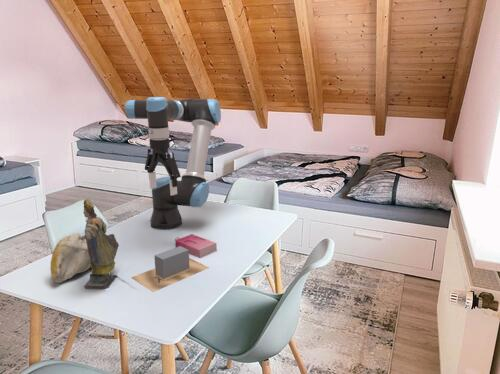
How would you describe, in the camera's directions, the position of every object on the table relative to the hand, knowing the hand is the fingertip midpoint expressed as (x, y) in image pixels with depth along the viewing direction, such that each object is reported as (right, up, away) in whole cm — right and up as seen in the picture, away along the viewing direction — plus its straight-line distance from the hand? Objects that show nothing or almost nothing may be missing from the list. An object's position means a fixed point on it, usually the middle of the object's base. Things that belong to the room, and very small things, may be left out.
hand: (163, 191), depth 157 cm
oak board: (+6, -30, -16) cm, 34 cm away
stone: (-28, -29, -12) cm, 42 cm away
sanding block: (+7, -29, -16) cm, 34 cm away
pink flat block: (+11, -25, +6) cm, 28 cm away
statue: (-18, -31, -19) cm, 40 cm away
